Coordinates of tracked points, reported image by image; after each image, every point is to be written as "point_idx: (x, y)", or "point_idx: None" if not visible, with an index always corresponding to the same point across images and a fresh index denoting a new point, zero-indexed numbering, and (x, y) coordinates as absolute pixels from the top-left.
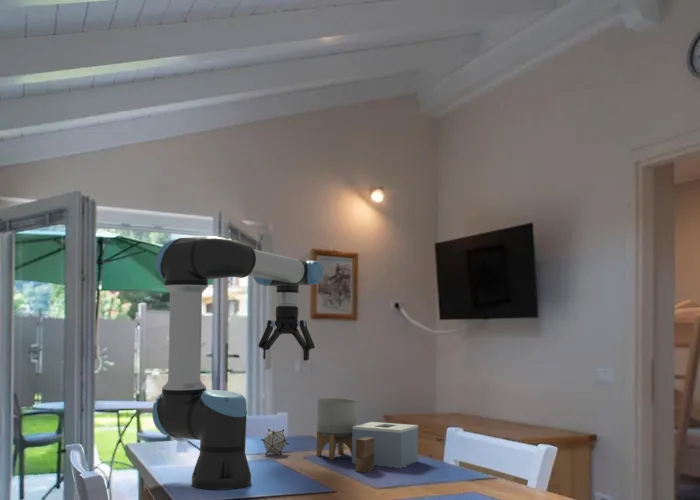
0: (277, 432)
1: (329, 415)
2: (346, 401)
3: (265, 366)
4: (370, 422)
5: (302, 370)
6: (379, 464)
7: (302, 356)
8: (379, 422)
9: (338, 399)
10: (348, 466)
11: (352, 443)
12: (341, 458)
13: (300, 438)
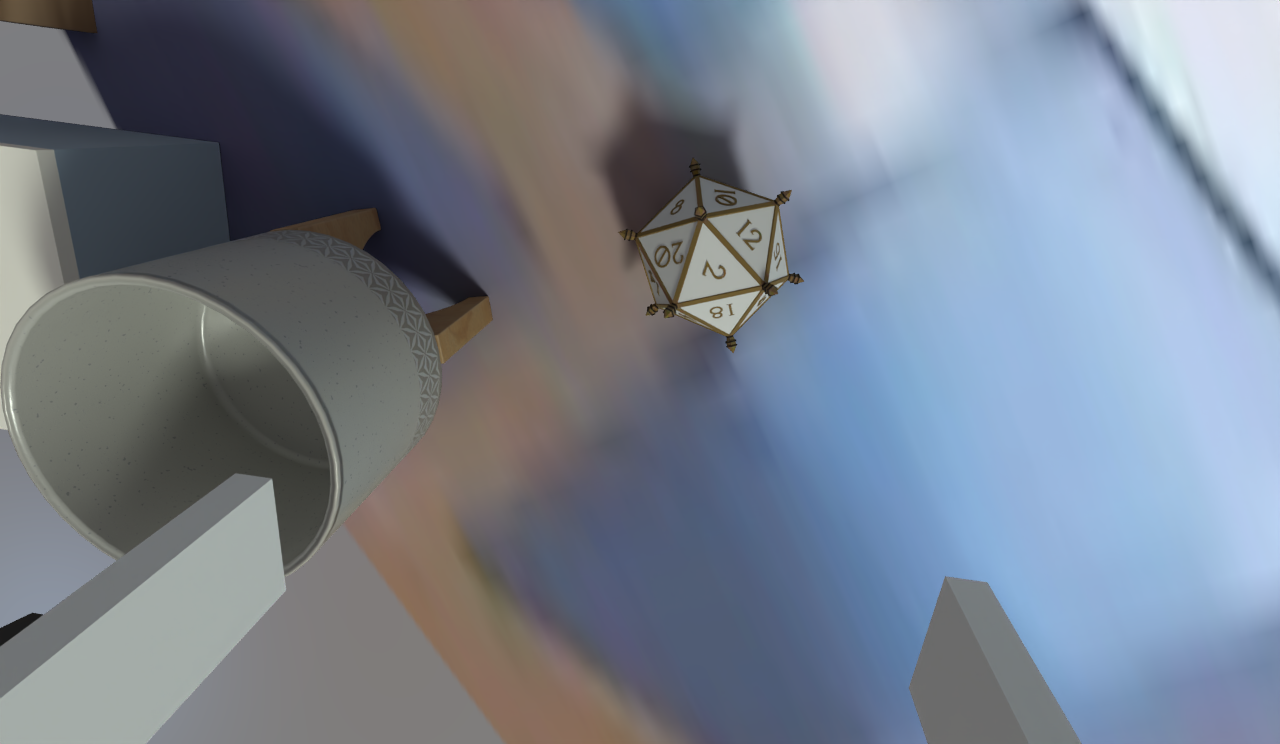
0: (686, 251)
1: (212, 250)
2: None
3: (997, 620)
4: None
5: (232, 478)
6: (62, 123)
7: (5, 653)
8: None
9: None
10: (188, 47)
11: (134, 147)
12: None
13: (788, 738)
